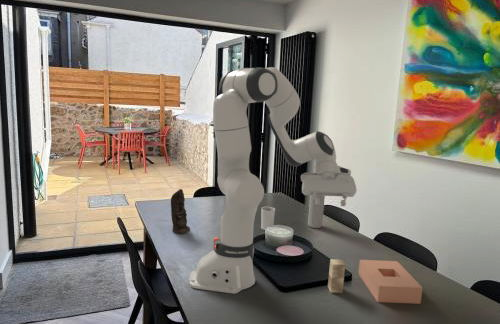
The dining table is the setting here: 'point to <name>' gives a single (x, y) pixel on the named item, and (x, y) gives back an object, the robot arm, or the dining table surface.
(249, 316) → the dining table surface
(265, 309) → the dining table surface
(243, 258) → the robot arm
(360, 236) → the dining table surface
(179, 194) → the statue
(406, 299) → the socket
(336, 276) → the peg
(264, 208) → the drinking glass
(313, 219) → the water bottle
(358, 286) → the dining table surface
